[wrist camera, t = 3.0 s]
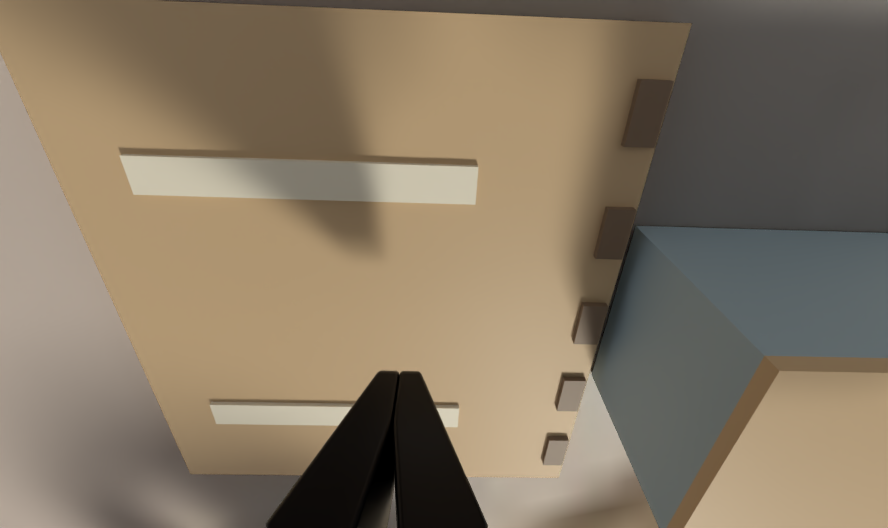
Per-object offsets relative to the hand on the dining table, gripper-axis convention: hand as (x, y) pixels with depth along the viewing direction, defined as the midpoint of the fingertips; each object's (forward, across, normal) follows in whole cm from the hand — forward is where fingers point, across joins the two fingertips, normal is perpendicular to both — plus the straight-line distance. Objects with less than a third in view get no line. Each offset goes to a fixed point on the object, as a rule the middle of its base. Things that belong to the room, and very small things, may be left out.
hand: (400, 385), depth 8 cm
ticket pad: (+3, +1, 0) cm, 3 cm away
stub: (+3, -9, 0) cm, 9 cm away
